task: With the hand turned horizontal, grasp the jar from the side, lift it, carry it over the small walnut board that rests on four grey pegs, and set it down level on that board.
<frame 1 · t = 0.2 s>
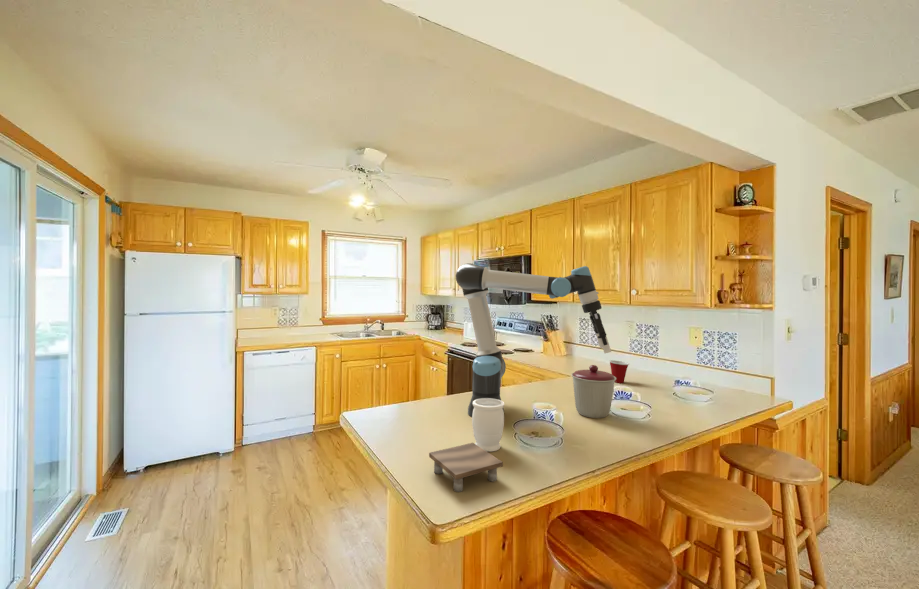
hand: (605, 350, 163), 28 cm above the worktop, tool tilted 20°, fingers open, 13 cm apart
plastic cup: (618, 382, 222), on the worktop
jar: (487, 447, 128), on the worktop
canister: (592, 414, 163), on the worktop
peg stand: (464, 475, 108), on the worktop
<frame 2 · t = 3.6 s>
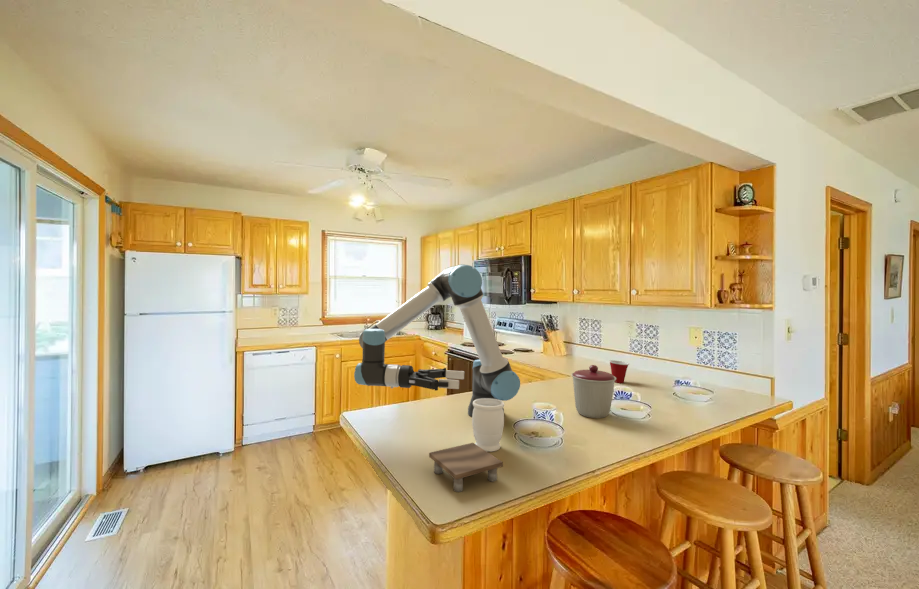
hand: (461, 379, 129), 22 cm above the worktop, tool horizontal, fingers open, 13 cm apart
nothing on the worktop moved.
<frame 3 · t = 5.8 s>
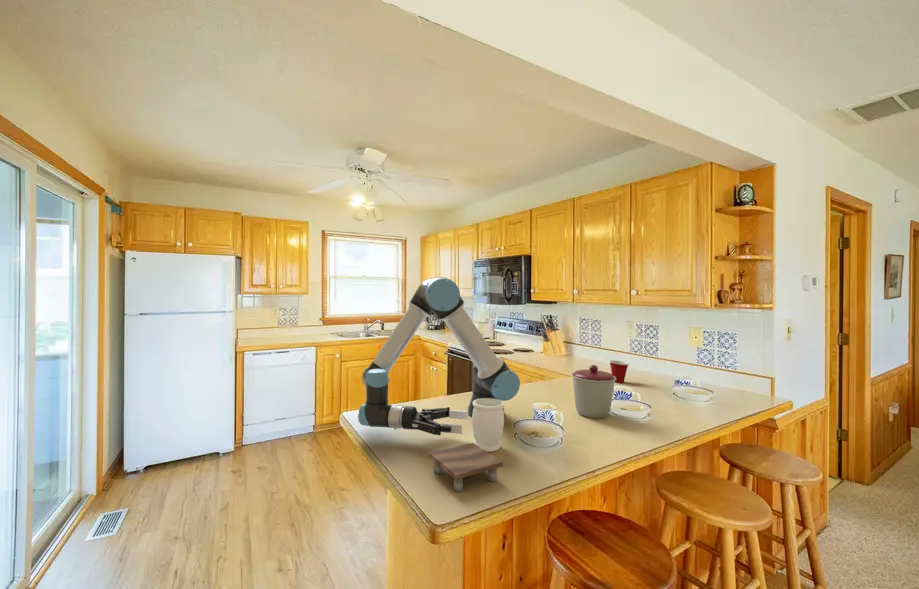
hand: (464, 421, 129), 8 cm above the worktop, tool horizontal, fingers open, 13 cm apart
nothing on the worktop moved.
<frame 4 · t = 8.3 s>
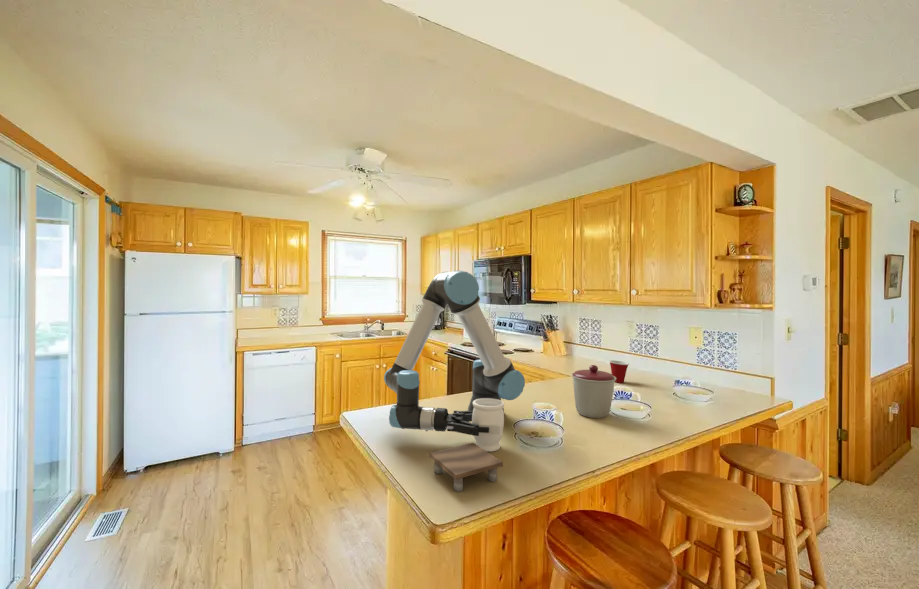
hand: (500, 423, 127), 8 cm above the worktop, tool horizontal, fingers closed on jar, 10 cm apart
jar: (487, 447, 128), on the worktop, touching gripper
everything else where it was.
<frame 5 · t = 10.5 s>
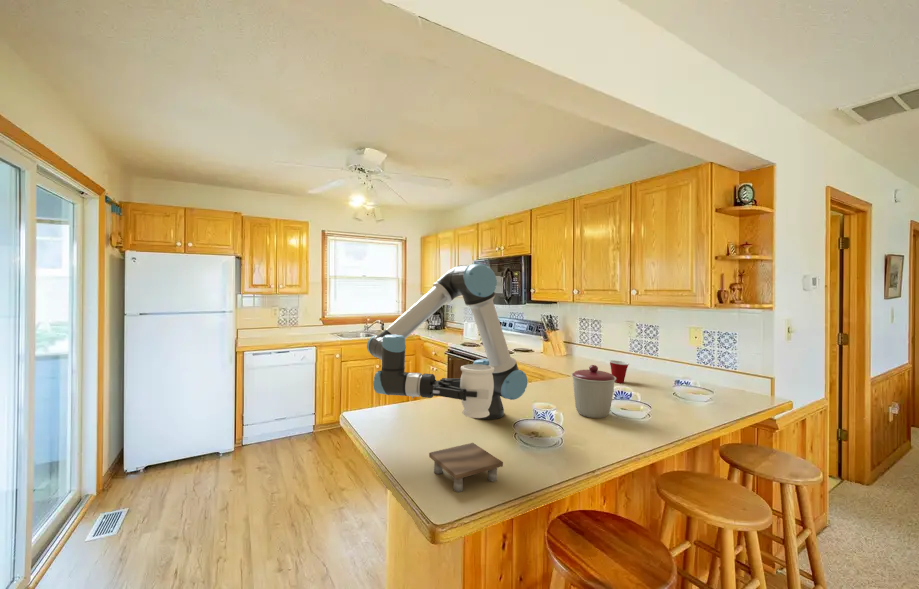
hand: (490, 390, 120), 21 cm above the worktop, tool horizontal, fingers closed on jar, 10 cm apart
jar: (476, 414, 121), point 13 cm above the worktop, touching gripper
everything else where it was.
when the fingers open (15 cm above the worktop, at t = 13.1 s): jar drops 1 cm, resting on peg stand.
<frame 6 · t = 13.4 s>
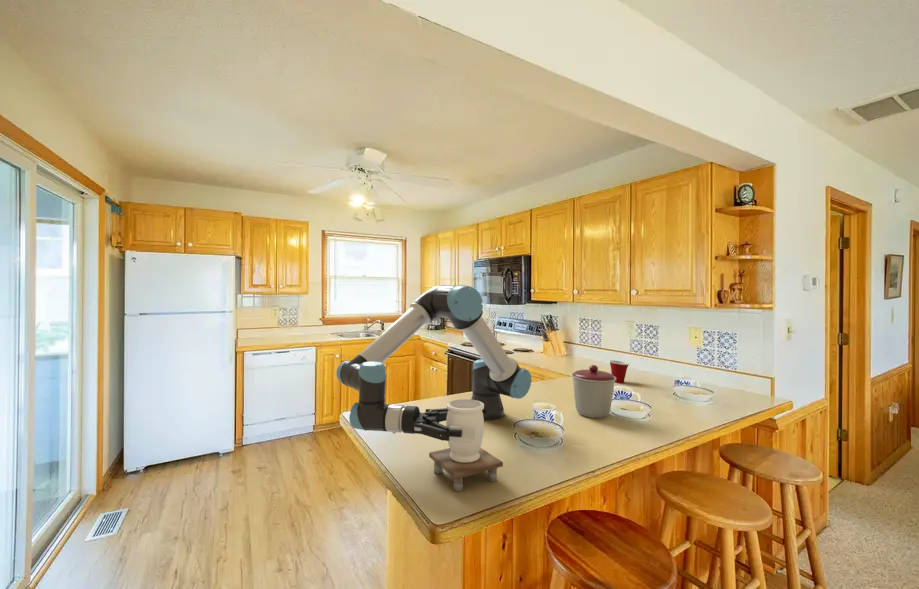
hand: (477, 424, 107), 15 cm above the worktop, tool horizontal, fingers open, 13 cm apart
jar: (464, 457, 108), point 5 cm above the worktop, touching peg stand
everything else where it was.
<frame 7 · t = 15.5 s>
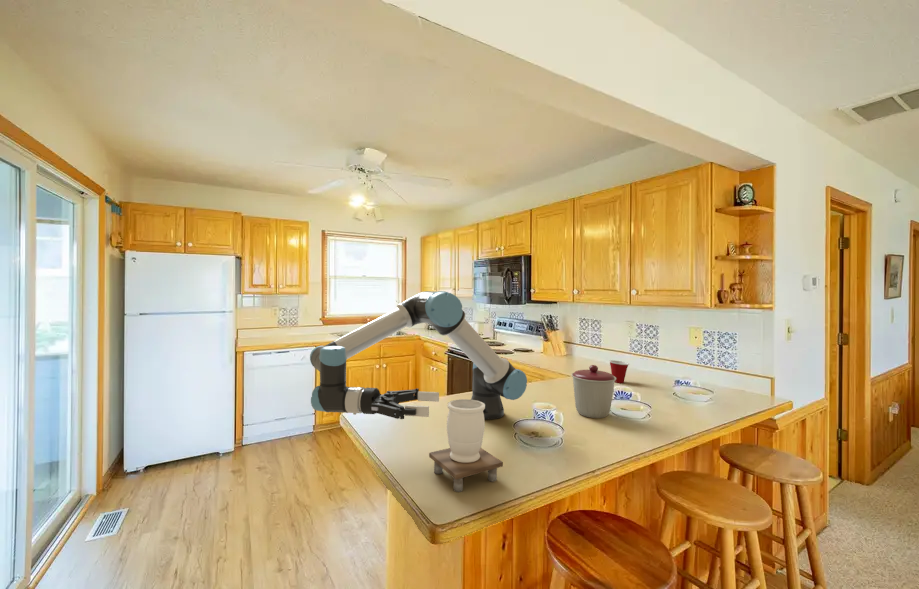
hand: (434, 403, 111), 19 cm above the worktop, tool horizontal, fingers open, 13 cm apart
nothing on the worktop moved.
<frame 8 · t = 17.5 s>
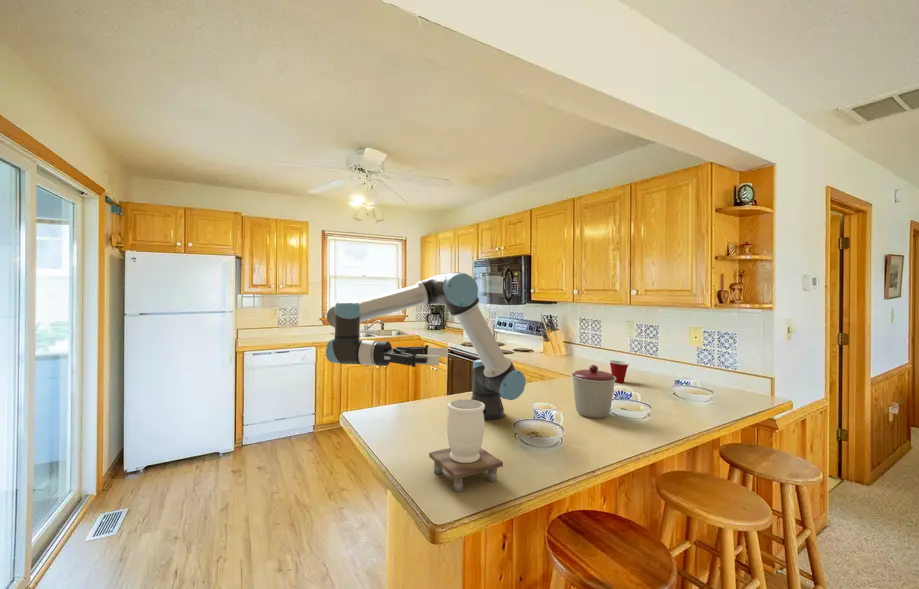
hand: (443, 356, 116), 32 cm above the worktop, tool horizontal, fingers open, 13 cm apart
nothing on the worktop moved.
at the end: jar inside the target area on the peg stand (0.1 cm from its centre), point 5.0 cm above the peg stand's base; jar tilted 0°; the gripper is holding nothing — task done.
